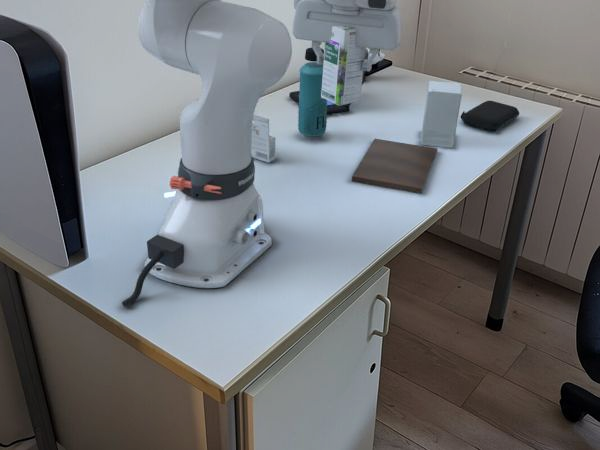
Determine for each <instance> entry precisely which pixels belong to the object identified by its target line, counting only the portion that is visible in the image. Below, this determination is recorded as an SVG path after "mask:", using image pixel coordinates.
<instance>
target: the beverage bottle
mask: <svg viewBox="0 0 600 450" xmlns="http://www.w3.org/2000/svg"><path fill="white" fill-rule="evenodd" d="M321 50H322V53H323V54H324V49H323V48H321ZM304 60H306V61H308V62H306V63H304V64H303V65H302V66H301V67H300V68H299V90H298V91H299V99H298V103H299V104H298V103H297V104H298V117H297V120H298V121H297V129H298V132H299V133H300V134H301V135H304V136H308V137H319V136H322V135H324V134H326V131H327V124H328V115H327V100H326V99H323V98H321V91H322V78H323V65H318V64H317V56H316V54H315V52H314V50H313V48H312V46H311V47H307V48H306V49H305V53H304Z"/></svg>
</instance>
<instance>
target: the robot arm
mask: <svg viewBox="0 0 600 450" xmlns="http://www.w3.org/2000/svg"><path fill="white" fill-rule="evenodd" d="M398 2H399V0H293V7H294V10H295V11H294V15H293V23H292V35H293V37H294V38H295V39H297V40H303V41H310V42H311V47H312V48H313V50H314V52H315V54H316V56H317V64H318V65H323V64H324V54H323V53H322V50H321V49H322V47H321V46H322V43H325V42H326V43H329V42H330V40H331V33H332V27H333V26H344V27H354V28H355V30H356V37H355V46H358V47H365V49H369V53H370V54H372V55H371V56H370V58H369V59H364V61H363V62H362V66H363V67H362V70H363V71H364V72H370V71H371V70H372V65H373V64H372V60H373V59H374V57H375V56H376V55H377V53H378V52H380V50H381V51H392V52H393V51H395V50H396V49H398V47H399V46H400V45H401V43H402V32H403V30H402V29H403V26H402V25H403V24H402V23H403V21H402V13H401V10H400V8H399V7H398V6H397V5H398ZM137 34H138V35H137V36H138V38H139V41H140V44H141V47H143V49H144V51H146V52H147V53H148V54H150V55H151V56H153V57H154V58H156V59H157V60H159V61H160V62H162V63H164V64H165V65H167V66H169V67H171V68H174V69H179V70H182V71H185V72H188V73H192V74H195V75H199V77H200V79H201V80H200V81H201V92H200V96H199V98H196V99H194V100H192V101H191V102H190V103H188V105H186V106H185V108H184V109H183V110H182V111H181V114H180V116H179V134H180V135H179V137H180V151H181V158H180V160H179V166H178V168H177V175H172V176H171V177H170V181H169V186H170V189H173V190H175V191H170V192H164V195H163V196H164V198H170V197H172V200H171V202H170V204H169V207H168V209H167V210H166V214H165V216H164V219H163V221H162V223H161V226H160V228H159V233H158V234H156V235H154V236H153V237H151V238H149V239H148V240H146V247H147V259H146V260H145V262H144V267H143V269H142V271H141V272H140V273H139V275H138V277H137V279H136V283H135V288H134V291H133V292H132V294H131V295H130V296H129V297H127V298H126V299H124V300H123V301H122V302H121V304H122V306H123V307H124V308H127V307H129V306H130V305H132V304H134V303H135V302H136V301H137V300H138V298H139V297H140V295H141V293H142V290H143V286H144V283H145V282H144V281H145V280H146V278H147V276H148V275H149V274H150V275H151V276H153V277H154V278H157V279H160V280H161V281H165V282H168V283H171V284H175V285H180V286H183V287H184V286H185V287H191V288H197V289H198V288H199V289H216V288H217V289H218V288H223V287H226V286H227V285H228V284H230V282H231V281H233V280H235V278H236V277H237V276H238V275H239V274H241V273H242V272H244V270H246V269H247V268H248V267H249V266H250V265H251V264H252V263H254V261H256V260H257V259H258V258H259V257H260V256H262V255H263V253H265V252H266V251H267V250H268V249H270V248H271V246H272V245H273V241H272V237H271V236H270V235H269V234H268V233H267V232H266V231H265V220H264V219H265V218H264V205H263V198H262V197H261V195H260V194H259V192H258V190H257V189H256V187H255V184H254V182H255V174H256V165H255V158H253V157H252V156H251V145H252V123H253V122H254V121H253V115H255V111H256V107H257V105H258V102H259V100H260V99H261V97H262V96H263V94H264V93H265V92H266V91H267V90H268V89H270V88H271V87H273V86H275V85H276V84H277V83H278V82H279V81H280V80H281V79H282V78H283V77H284V76H285V74H286V73H287V71H288V68H289V66H290V64H291V60H292V53H293V44H292V38H291V35H290V32H289V30H288V28H287V26H286V25H285V24H284V23H283V22H282V21H281V20H278V19H277V18H275V17H273V16H272V15H270V14H267V13H266V12H264V11H261V10H259V9H257V8H254V7H250V6H246V5H242V4H236V3H232V2H227V1H224V0H146V2H145V3H144V4H143V7H142V8H141V10H140V13H139V16H138V21H137Z"/></svg>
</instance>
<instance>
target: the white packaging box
mask: <svg viewBox="0 0 600 450" xmlns="http://www.w3.org/2000/svg"><path fill="white" fill-rule="evenodd" d="M426 90H427V91H426V98H425V105H424V113H423V119H422V125H421V134H420V145H421V146H428V147H437V148H450V149H453V148H454V146H455V138H456V132H457V128H458V120H459V116H460V115H459V114H460V109H461V104H462V103H461V102H462V98H463V97H462V96H463V86H462V83H458V82H448V81H434V80H428V83H427V89H426Z"/></svg>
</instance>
